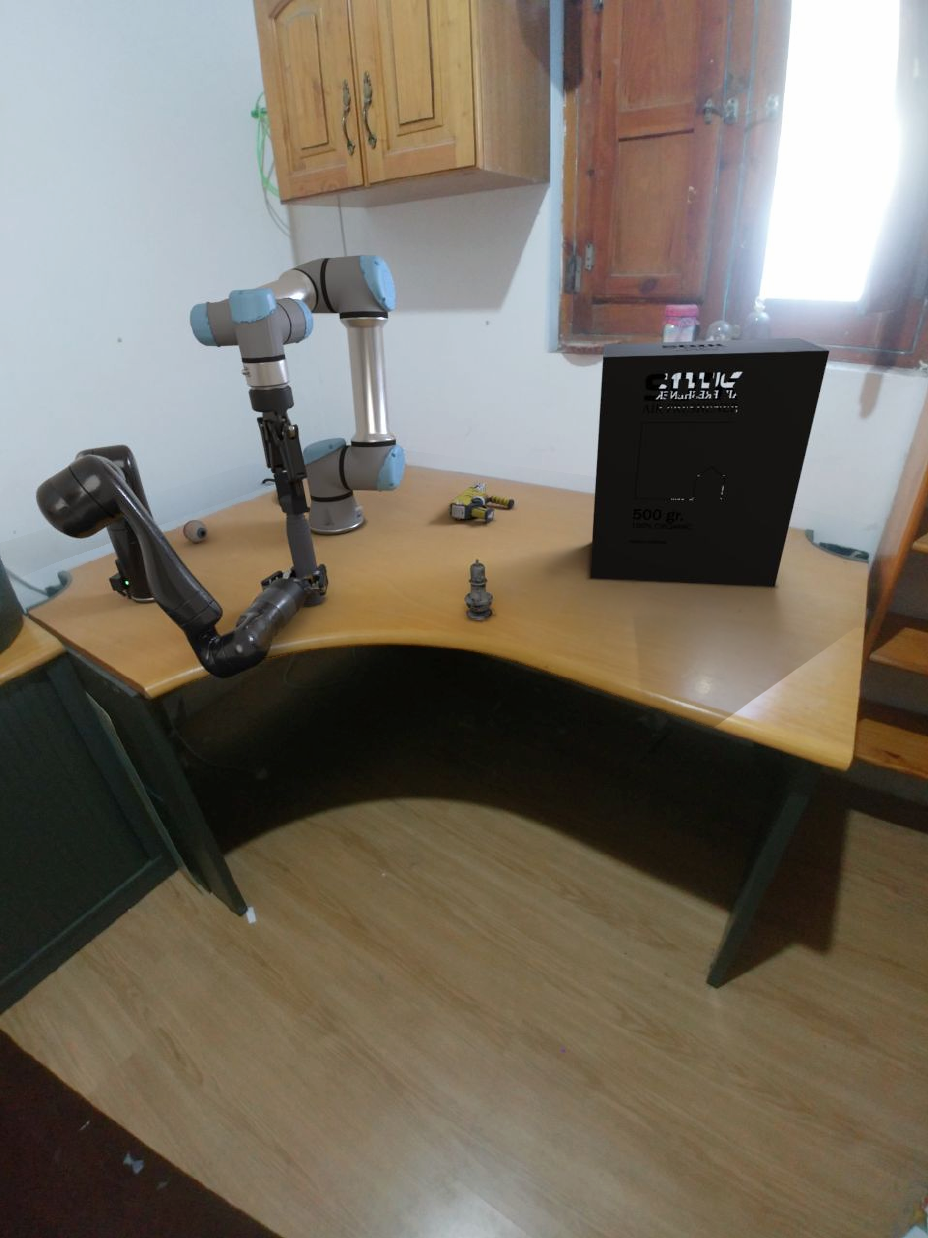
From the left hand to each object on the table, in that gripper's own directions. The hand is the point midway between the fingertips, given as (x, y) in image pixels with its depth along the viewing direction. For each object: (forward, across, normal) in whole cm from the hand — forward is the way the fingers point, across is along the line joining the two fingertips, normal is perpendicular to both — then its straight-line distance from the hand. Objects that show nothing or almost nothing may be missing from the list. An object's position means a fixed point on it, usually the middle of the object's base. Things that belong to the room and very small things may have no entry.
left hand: (311, 567), depth 129 cm
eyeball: (+27, +45, +7) cm, 53 cm away
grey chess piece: (-5, -37, +7) cm, 38 cm away
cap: (-3, 0, -16) cm, 16 cm away
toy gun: (+55, -30, +7) cm, 63 cm away
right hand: (-3, 0, -14) cm, 14 cm away
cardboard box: (+22, -78, +7) cm, 81 cm away
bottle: (-3, 0, +7) cm, 7 cm away
